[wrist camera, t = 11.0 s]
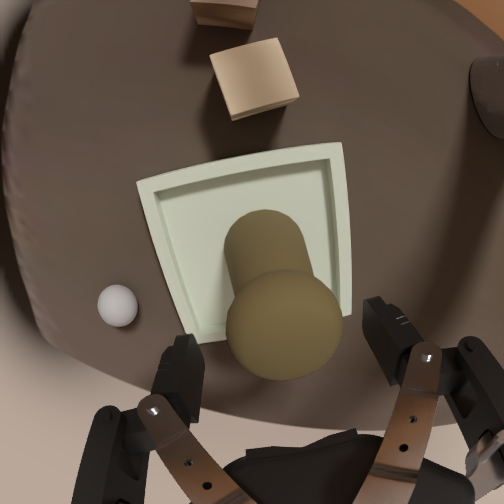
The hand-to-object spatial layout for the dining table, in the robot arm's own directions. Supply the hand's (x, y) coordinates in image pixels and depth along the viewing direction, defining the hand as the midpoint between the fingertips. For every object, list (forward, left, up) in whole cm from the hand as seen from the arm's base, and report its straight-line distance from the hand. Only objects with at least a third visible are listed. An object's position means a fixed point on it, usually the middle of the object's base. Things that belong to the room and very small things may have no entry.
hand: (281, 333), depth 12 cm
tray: (0, 0, -10) cm, 10 cm away
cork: (0, 0, -9) cm, 9 cm away
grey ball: (+12, +2, -8) cm, 15 cm away
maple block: (-1, -12, -10) cm, 16 cm away
